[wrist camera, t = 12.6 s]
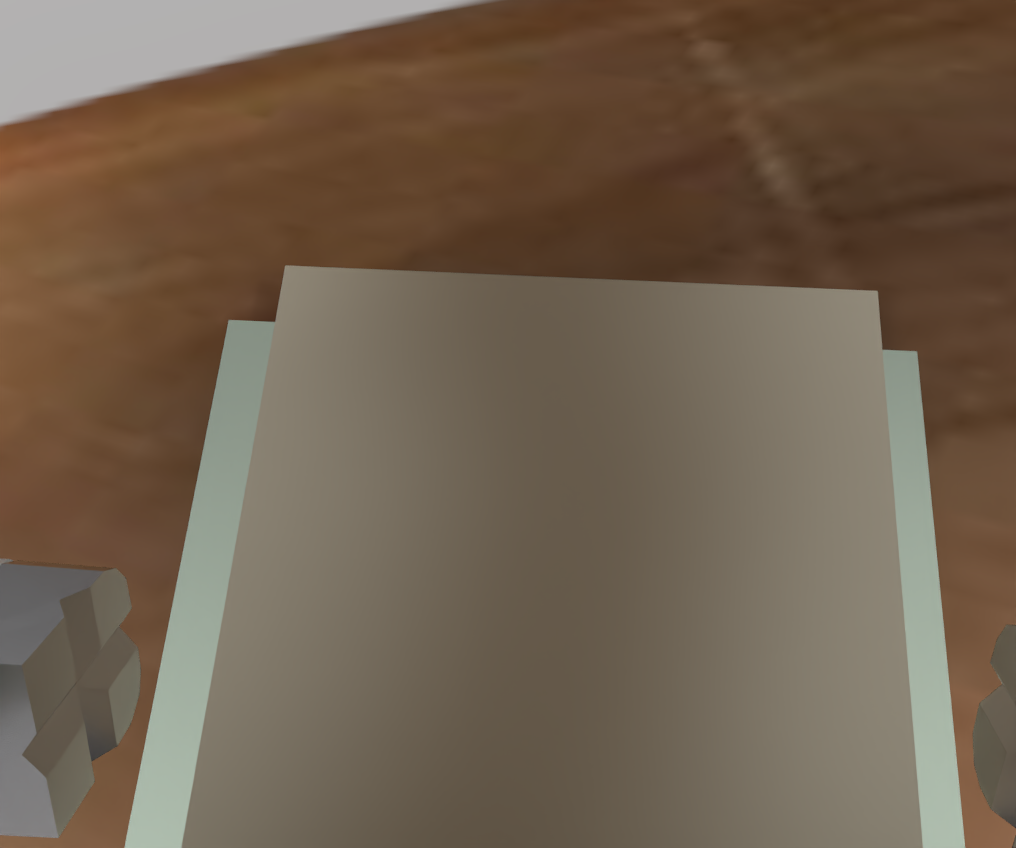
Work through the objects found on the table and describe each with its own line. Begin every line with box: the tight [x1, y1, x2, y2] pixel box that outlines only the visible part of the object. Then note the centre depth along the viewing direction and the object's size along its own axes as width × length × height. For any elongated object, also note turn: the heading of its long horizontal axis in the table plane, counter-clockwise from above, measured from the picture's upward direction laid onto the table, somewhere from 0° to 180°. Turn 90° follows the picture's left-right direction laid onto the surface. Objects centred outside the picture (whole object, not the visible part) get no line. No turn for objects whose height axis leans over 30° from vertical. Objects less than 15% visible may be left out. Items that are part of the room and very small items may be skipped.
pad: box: [125, 320, 965, 848], centre depth 15 cm, size 12×12×1 cm
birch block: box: [181, 265, 923, 848], centre depth 11 cm, size 5×5×8 cm
